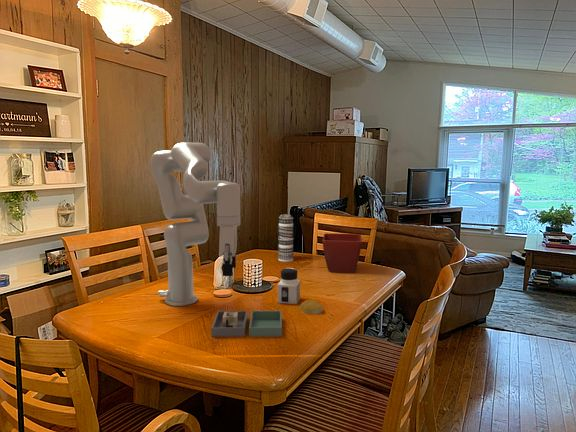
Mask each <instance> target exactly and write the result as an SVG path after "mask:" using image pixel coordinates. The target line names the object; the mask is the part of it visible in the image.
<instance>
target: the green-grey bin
mask: <svg viewBox="0 0 576 432" xmlns="http://www.w3.org/2000/svg"><path fill="white" fill-rule="evenodd" d="M282 316H283V315H282V310H251V313H250V321H249V326H248V336H249V338H250V337H251V338H255V337H257V338H258V337H260V338H261V337H265V338H266V337H268V338H269V337H275V338H276V337H279V338H280V337H283V327H282V326H283V325H282V323H283V318H282Z"/></svg>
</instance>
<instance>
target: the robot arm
mask: <svg viewBox="0 0 576 432" xmlns="http://www.w3.org/2000/svg"><path fill="white" fill-rule="evenodd" d="M210 149H211V148H209V146H208V145H207V144H206V143H203V142H186V141H185V142H179V143H176V144H175V145H173V147H171V149H169V150H168V149H164V150H158V151H156V152H154V153H152V155H151V157H150V172H151V174H152V177H153V178H154V181H155V183H156V186H157V189H158V192H159V196H160V197H159V199H160V202H161V207H162V212H163V215H164V217H165V219H166V220H169V221H178V220H186V219H188V220H190V221H181V222H174V223H170V224H168V225H167V226H166V227H165V228H164V231H163V239H164V243H165V247H166V255H167V257H166V258H167V276H168V277H167V278H168V289H166V290H158V292H157V295H158V296H159V297H160V298H161V297H162V298H163V297H165V299H164V303H165V304H166V305H169V306H173V307H183V306H189V305H192V304H195V303H196V302H197V301H198V299H199V297H198V295H197V294H195V293H194V268H193V267H194V264H193V256H192V254H191V252H190V251H189V249H187V247H189V246H195V245H201V244H205V243H207V241H208V240H209V235H210V233H209V232H210V231H209V226H208V220H207V215H206V211H205V207H204V205H205V204H207V205H208V204H216V226H217V227H219V241H218V242H219V245H218V246H219V247H218V248H219V249H218V256H219V257H220V258H222V276H223V277H233V274H234V269H235V268H236V267H237V263H236V262H237V261H236V260H237V259H236V258H237V257H236V252H237V249H238V248H237V247H238V227H239V226H241V186H240V184H239V183H237V182H231V181H228V180H221V179H220V180H202V179H204V177H205V176H206V175H207V173H208V170H209V165H208V164H209V163H210V161H211V159H212V158H211V157H212V153H211V150H210ZM181 172H182V173H183V176H182V183H183V189H184V192H185V194H184V193H183V191H182V186H181V183H180V182H179V180H178V179H177V178H176V177H175V176H174V175H173V174H171V173H181Z"/></svg>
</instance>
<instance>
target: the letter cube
mask: <svg viewBox="0 0 576 432" xmlns="http://www.w3.org/2000/svg"><path fill="white" fill-rule="evenodd" d="M237 326H238V312H224V315H223V327H237Z"/></svg>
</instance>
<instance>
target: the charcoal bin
mask: <svg viewBox="0 0 576 432" xmlns="http://www.w3.org/2000/svg"><path fill="white" fill-rule="evenodd" d="M224 312H238V326H237V327H223V315H224ZM248 313H249V312H248V310H218V311H217V312H216V314H215V318H214V320H213V323H212V326H211V332H210V333H211V337H212V338H222V337H223V338H231V337H232V338H237V337H239V338H243V337H245V334H246V330H247V324H248Z"/></svg>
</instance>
